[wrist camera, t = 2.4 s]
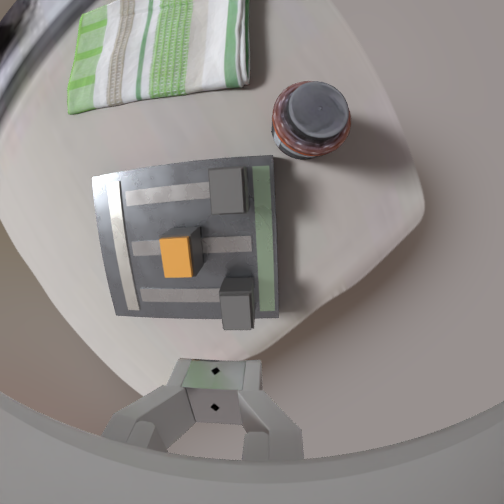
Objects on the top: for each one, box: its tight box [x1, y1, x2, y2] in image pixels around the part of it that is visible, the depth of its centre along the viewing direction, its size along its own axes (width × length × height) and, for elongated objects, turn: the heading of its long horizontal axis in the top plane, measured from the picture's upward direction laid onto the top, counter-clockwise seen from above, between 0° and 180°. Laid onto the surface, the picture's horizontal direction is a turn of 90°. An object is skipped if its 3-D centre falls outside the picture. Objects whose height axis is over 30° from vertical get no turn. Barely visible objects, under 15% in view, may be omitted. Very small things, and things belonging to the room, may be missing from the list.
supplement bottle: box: [271, 81, 351, 159], centre depth 21 cm, size 6×6×11 cm
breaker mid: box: [159, 226, 204, 278], centre depth 26 cm, size 4×3×4 cm
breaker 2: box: [219, 277, 255, 330], centre depth 27 cm, size 4×3×4 cm
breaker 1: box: [208, 166, 249, 215], centre depth 24 cm, size 4×3×4 cm
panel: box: [92, 155, 279, 319], centre depth 29 cm, size 17×20×2 cm
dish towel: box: [67, 0, 250, 115], centre depth 22 cm, size 17×23×4 cm
